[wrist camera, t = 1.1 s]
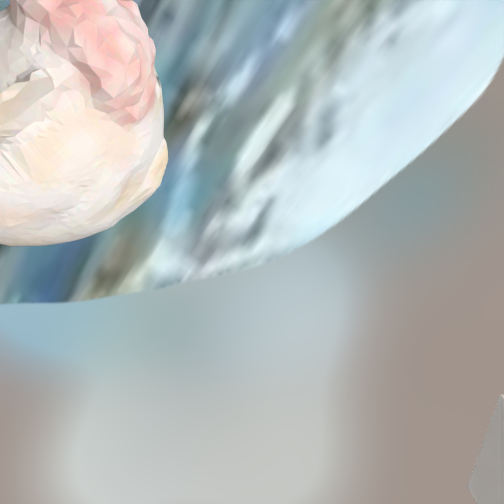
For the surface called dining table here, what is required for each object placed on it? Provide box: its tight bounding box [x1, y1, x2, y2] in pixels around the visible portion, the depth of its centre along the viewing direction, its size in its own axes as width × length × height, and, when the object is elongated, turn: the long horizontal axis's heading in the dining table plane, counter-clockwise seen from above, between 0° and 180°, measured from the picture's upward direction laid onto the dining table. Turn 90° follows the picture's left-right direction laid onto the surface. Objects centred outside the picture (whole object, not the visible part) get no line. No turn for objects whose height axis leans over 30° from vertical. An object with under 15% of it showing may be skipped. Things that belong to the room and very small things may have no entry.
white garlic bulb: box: [0, 0, 168, 246], centre depth 27 cm, size 16×19×15 cm
